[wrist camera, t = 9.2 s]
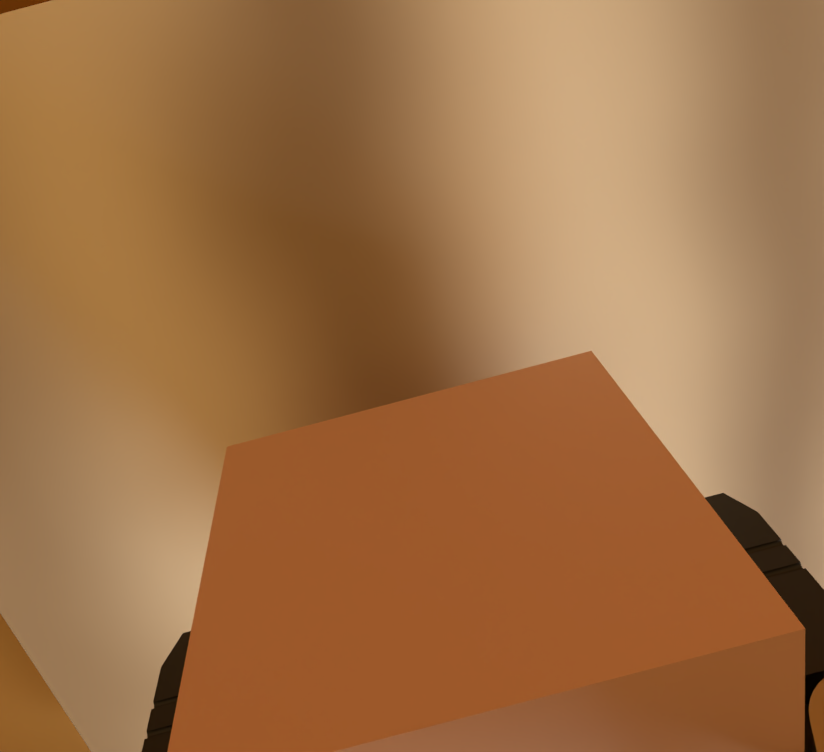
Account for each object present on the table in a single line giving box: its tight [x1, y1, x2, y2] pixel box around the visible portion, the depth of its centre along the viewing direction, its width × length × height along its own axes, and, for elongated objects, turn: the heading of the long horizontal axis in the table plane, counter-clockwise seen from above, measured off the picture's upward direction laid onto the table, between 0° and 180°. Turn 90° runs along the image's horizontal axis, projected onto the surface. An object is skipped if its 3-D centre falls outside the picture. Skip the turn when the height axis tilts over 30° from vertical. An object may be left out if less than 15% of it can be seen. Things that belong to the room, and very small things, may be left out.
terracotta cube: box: [167, 351, 805, 752], centre depth 9 cm, size 5×5×5 cm
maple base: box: [0, 0, 824, 752], centre depth 14 cm, size 16×16×3 cm
